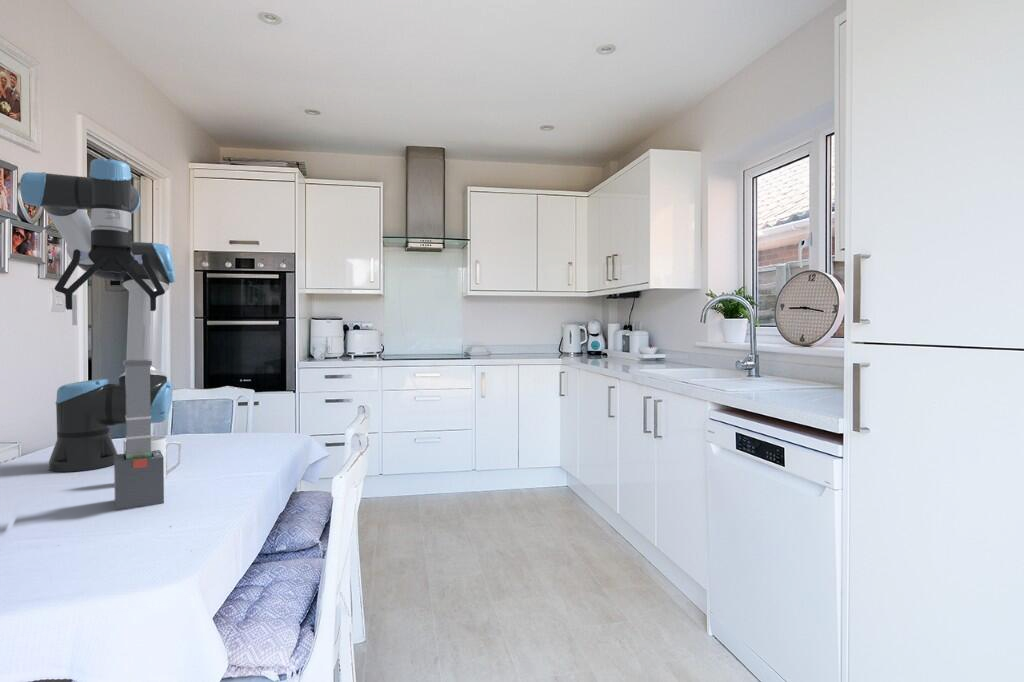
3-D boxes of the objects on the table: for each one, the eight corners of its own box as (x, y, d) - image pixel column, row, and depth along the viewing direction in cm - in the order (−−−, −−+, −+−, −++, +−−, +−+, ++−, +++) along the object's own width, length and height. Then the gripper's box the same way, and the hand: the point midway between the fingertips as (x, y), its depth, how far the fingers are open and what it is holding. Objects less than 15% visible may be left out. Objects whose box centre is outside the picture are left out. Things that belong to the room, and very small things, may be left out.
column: (124, 462, 123) (123, 360, 122) (151, 459, 126) (149, 359, 125) (125, 467, 119) (124, 361, 118) (152, 464, 122) (151, 360, 121)
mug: (121, 490, 134) (121, 443, 134) (126, 481, 142) (126, 436, 142) (180, 484, 140) (180, 439, 140) (182, 476, 148) (182, 433, 148)
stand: (92, 506, 123) (92, 454, 123) (178, 494, 132) (178, 445, 132) (92, 522, 113) (91, 465, 113) (185, 507, 123) (185, 455, 122)
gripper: (38, 222, 119) (39, 325, 119) (177, 234, 133) (178, 325, 134) (41, 227, 125) (42, 324, 125) (173, 237, 139) (174, 325, 140)
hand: (112, 325), depth 130 cm, fingers open, 13 cm apart
